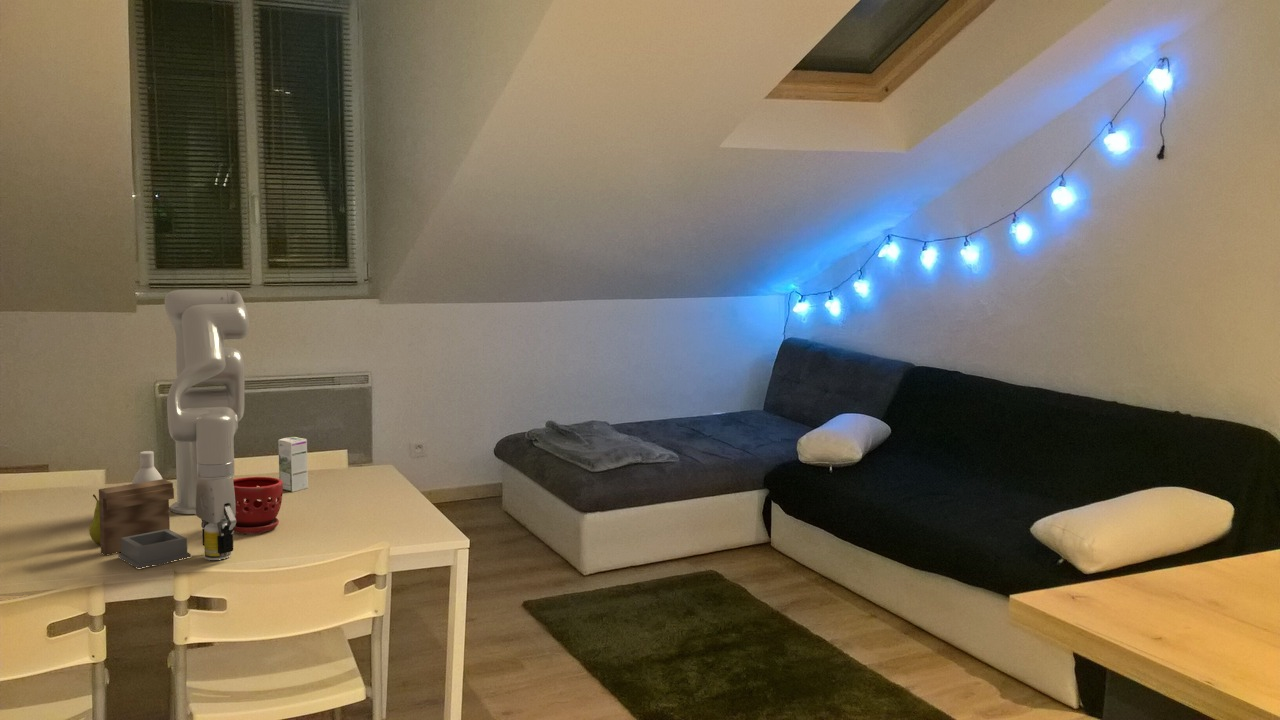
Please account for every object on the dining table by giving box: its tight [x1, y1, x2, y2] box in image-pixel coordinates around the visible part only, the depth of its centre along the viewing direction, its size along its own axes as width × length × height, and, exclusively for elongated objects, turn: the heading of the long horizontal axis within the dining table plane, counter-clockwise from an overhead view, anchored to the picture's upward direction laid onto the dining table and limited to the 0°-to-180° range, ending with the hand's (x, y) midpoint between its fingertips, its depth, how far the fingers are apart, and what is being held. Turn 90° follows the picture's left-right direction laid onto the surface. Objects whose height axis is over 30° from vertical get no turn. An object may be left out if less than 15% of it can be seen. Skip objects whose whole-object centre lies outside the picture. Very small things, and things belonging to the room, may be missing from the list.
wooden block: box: [98, 478, 175, 556], centre depth 220 cm, size 14×5×15 cm, turn 138°
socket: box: [117, 529, 192, 568], centre depth 214 cm, size 11×11×4 cm
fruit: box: [88, 494, 101, 545], centre depth 223 cm, size 6×6×12 cm
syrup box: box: [277, 436, 309, 493], centre depth 275 cm, size 6×6×14 cm
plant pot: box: [233, 476, 284, 535], centre depth 237 cm, size 13×13×12 cm
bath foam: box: [131, 450, 163, 484], centre depth 230 cm, size 7×7×20 cm
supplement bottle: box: [203, 518, 232, 561], centre depth 216 cm, size 5×5×10 cm
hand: (217, 547), depth 216 cm, fingers open, 6 cm apart
